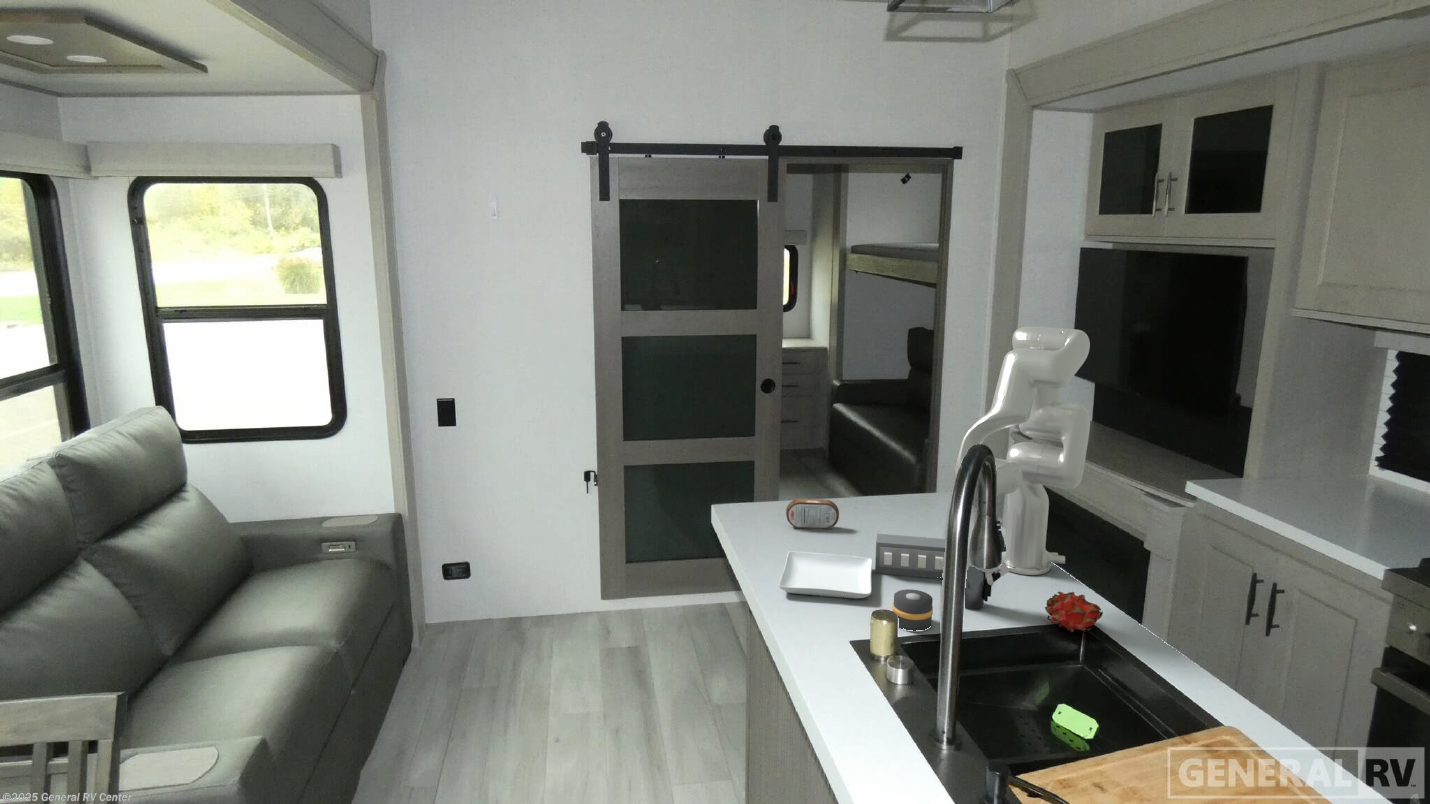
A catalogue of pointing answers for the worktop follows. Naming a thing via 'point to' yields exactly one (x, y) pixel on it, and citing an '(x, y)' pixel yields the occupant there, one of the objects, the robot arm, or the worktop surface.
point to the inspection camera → (974, 589)
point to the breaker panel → (909, 555)
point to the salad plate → (827, 575)
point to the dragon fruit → (1072, 611)
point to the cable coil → (913, 609)
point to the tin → (812, 513)
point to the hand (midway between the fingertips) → (972, 596)
